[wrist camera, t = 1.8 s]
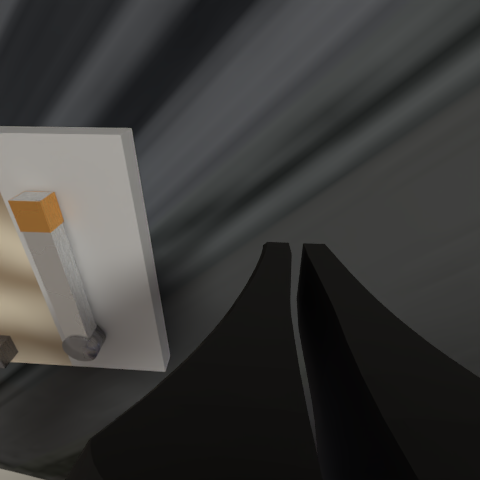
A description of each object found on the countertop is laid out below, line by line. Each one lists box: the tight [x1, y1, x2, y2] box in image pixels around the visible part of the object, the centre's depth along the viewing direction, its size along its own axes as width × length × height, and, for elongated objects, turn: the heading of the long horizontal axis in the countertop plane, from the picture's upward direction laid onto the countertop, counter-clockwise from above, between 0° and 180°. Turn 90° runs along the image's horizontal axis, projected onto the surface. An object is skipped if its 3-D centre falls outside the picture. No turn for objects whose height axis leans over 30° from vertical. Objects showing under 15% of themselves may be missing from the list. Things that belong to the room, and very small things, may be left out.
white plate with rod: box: [0, 126, 170, 372], centre depth 21 cm, size 18×8×2 cm, turn 0°
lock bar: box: [8, 191, 106, 361], centre depth 20 cm, size 12×2×1 cm, turn 0°
